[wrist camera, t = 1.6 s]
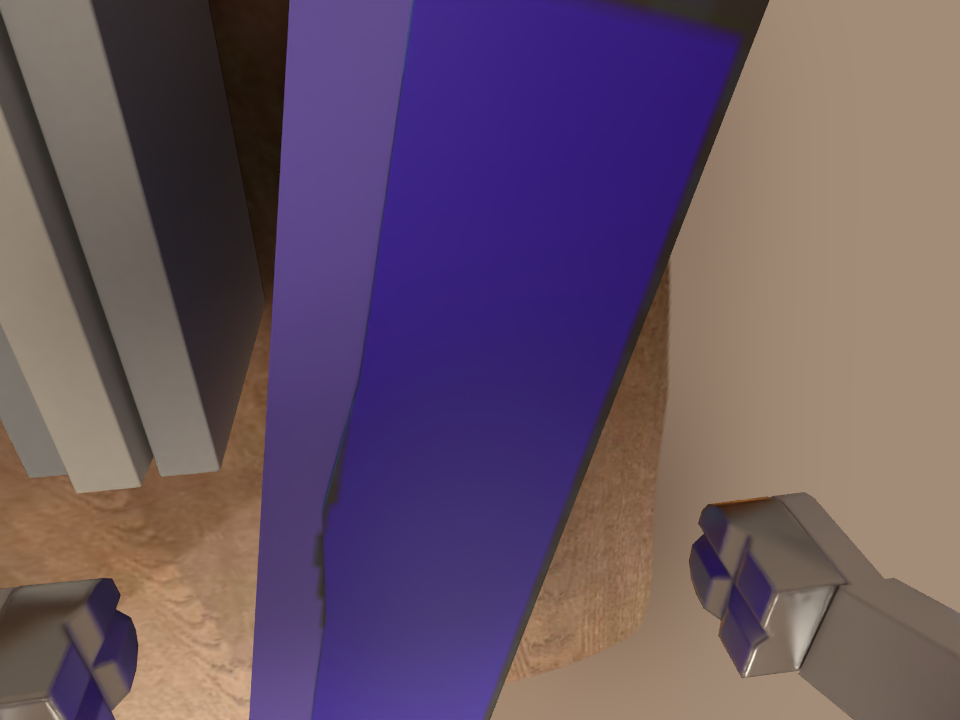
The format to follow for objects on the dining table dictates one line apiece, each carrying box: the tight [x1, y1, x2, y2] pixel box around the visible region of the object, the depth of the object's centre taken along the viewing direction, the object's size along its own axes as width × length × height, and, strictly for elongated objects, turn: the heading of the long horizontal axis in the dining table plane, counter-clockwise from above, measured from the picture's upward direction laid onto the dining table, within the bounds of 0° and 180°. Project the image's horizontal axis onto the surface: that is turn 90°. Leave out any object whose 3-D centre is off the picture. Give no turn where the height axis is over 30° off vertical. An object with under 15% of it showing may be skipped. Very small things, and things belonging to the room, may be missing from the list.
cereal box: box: [249, 0, 769, 720], centre depth 20 cm, size 17×5×24 cm, turn 168°
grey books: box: [0, 0, 266, 493], centre depth 22 cm, size 6×16×14 cm, turn 179°
